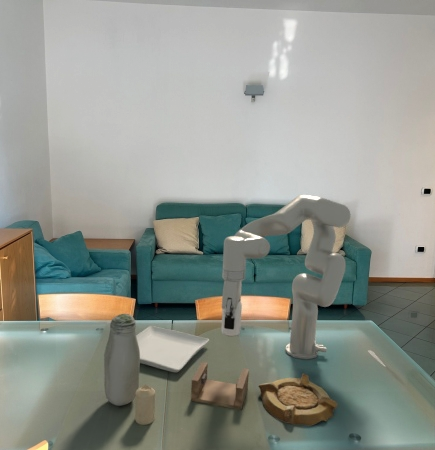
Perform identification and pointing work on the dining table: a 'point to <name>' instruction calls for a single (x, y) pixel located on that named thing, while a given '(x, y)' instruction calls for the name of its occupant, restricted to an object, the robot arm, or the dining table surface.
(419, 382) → the dining table surface
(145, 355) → the square plate
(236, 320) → the can
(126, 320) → the gray bottle
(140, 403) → the candle
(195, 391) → the holder
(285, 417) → the ashtray
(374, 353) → the butter knife
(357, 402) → the dining table surface
